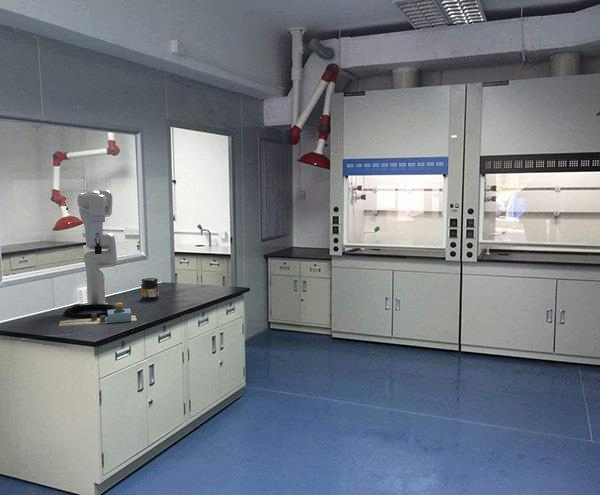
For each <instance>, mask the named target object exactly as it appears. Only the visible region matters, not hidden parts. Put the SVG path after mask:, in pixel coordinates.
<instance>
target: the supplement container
mask: <svg viewBox="0 0 600 495" xmlns="http://www.w3.org/2000/svg"><path fill="white" fill-rule="evenodd" d="M158 282H159V279H158V278H156V277H146V278H142V279H141V283H140V284H141V285H140V289H141V290H140V292H141V295H140V296H141V299H143V300H146V301H148V300H149V301H150V300H151V301H152V300H153V301H154V300H157V299H159V297H160V289H159V287H160V285H159V283H158Z"/></svg>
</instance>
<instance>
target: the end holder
mask: <svg viewBox="0 0 600 495" xmlns="http://www.w3.org/2000/svg"><path fill="white" fill-rule="evenodd" d="M131 316H132V310H131V308H123V312H119V313H116V312H115V309H114V310H108V316H107V317H108V322H112V323H121V321H125V322H133V321H132V320H131Z"/></svg>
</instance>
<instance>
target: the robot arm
mask: <svg viewBox="0 0 600 495" xmlns="http://www.w3.org/2000/svg"><path fill="white" fill-rule="evenodd" d="M76 199H77V200H76V202H77V206H78V208H79V209H78V210H79V211H78V212H79V217H80V219H81V221H82V223H83V226H84V232H85V234H84V235H85V245H86V248H87V249H88V250H90V251H88V252H86V253H85V254H84V256H83V262H84V265H85V266H84V267H85V274H86V276H85V277H86V298H87V299H86V301H87V303H85V304H84V305H88V304H109V302H106V288H105V286H106V284H105V274H104V273H103V271H102V270H101V268H114V267H116V266H117V263H118V256H117V246H116V238H115V235H114V234H113V233H112V232H104V229H103V227H104V226H103V223H105V222H106V218H108V217H111V216H112V213H113V194H112V193H111V191H110V190H109V189H108V190H107V189H92V190H88V191H87V192H82V193H81V192H80V193H78V195H77V198H76Z"/></svg>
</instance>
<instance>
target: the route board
mask: <svg viewBox="0 0 600 495" xmlns="http://www.w3.org/2000/svg"><path fill="white" fill-rule="evenodd" d="M97 313H98V312H94V314H93V313H91V314H92V318H84V319H79V318H77V319H67V320H66V319H65V320H60V321H59V325H58V327H69V326H71V327H72V326H81V325H82V326H83V325H97V324H109V323H113V322H108V316H105V315H102V316H100V317H98V318H97ZM131 320H132V321H131V322H137V317H136V315H131ZM121 322H123V323H124V322H126V321H121ZM121 322H120V323H121Z"/></svg>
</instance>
